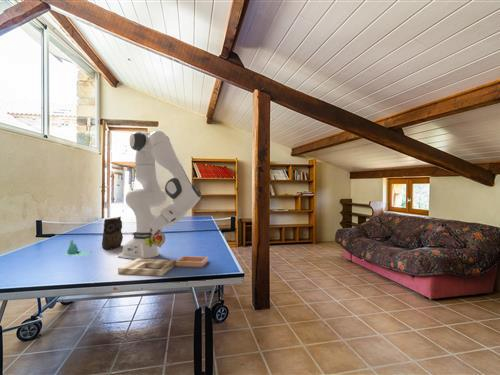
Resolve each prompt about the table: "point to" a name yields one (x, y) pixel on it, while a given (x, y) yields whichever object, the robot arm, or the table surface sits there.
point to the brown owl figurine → (112, 233)
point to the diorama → (75, 250)
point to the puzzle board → (140, 264)
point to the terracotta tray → (191, 261)
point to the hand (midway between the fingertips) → (154, 232)
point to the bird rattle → (159, 239)
